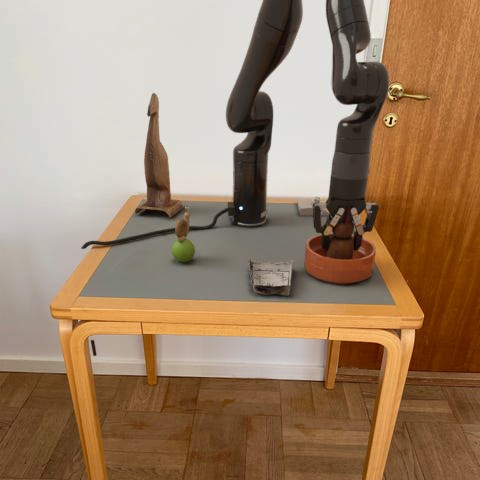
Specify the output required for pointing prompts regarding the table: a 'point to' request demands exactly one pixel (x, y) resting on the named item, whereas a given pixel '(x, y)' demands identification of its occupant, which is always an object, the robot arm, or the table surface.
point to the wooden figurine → (342, 240)
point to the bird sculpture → (157, 167)
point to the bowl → (339, 262)
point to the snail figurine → (183, 240)
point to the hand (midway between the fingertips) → (340, 249)
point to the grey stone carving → (309, 206)
